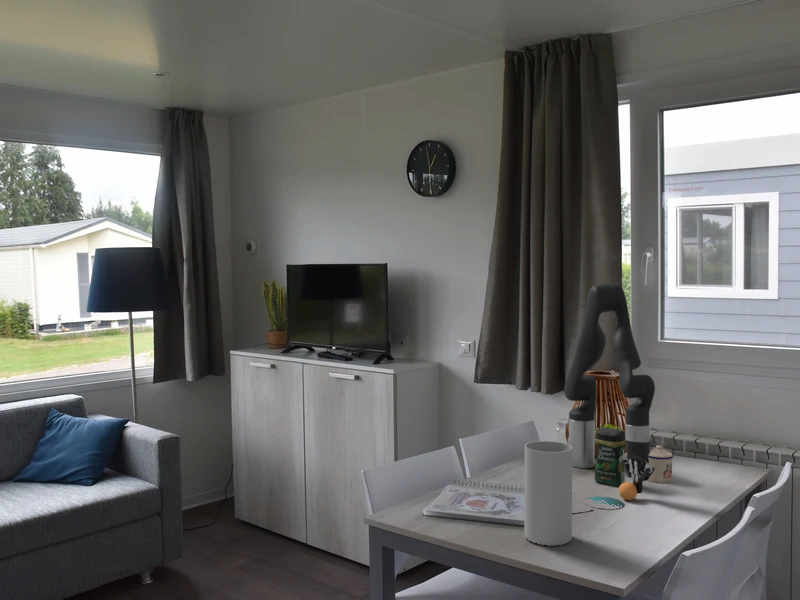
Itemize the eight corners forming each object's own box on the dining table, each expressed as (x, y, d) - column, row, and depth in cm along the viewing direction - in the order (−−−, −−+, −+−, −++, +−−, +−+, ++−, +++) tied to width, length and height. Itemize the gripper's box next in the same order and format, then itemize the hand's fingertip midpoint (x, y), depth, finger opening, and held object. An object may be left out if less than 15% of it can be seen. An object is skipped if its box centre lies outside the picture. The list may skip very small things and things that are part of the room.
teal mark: (576, 500, 232) (576, 499, 232) (606, 495, 236) (606, 494, 236) (600, 511, 221) (600, 510, 221) (632, 506, 225) (632, 505, 225)
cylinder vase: (541, 550, 191) (542, 454, 190) (515, 534, 202) (515, 443, 201) (581, 542, 196) (581, 449, 195) (553, 527, 207) (554, 439, 206)
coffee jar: (591, 482, 250) (591, 428, 250) (601, 477, 257) (601, 424, 256) (618, 488, 244) (618, 432, 243) (628, 482, 250) (628, 428, 250)
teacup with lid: (668, 484, 248) (668, 450, 247) (641, 480, 253) (641, 446, 252) (677, 476, 257) (678, 443, 257) (651, 472, 263) (651, 440, 262)
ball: (626, 497, 235) (613, 496, 233) (629, 480, 235) (616, 479, 233) (638, 503, 230) (625, 501, 228) (642, 486, 231) (629, 484, 228)
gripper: (614, 435, 237) (614, 488, 238) (642, 443, 225) (643, 500, 226) (632, 433, 240) (632, 485, 241) (662, 441, 228) (662, 496, 229)
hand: (637, 492), depth 233 cm, fingers closed
